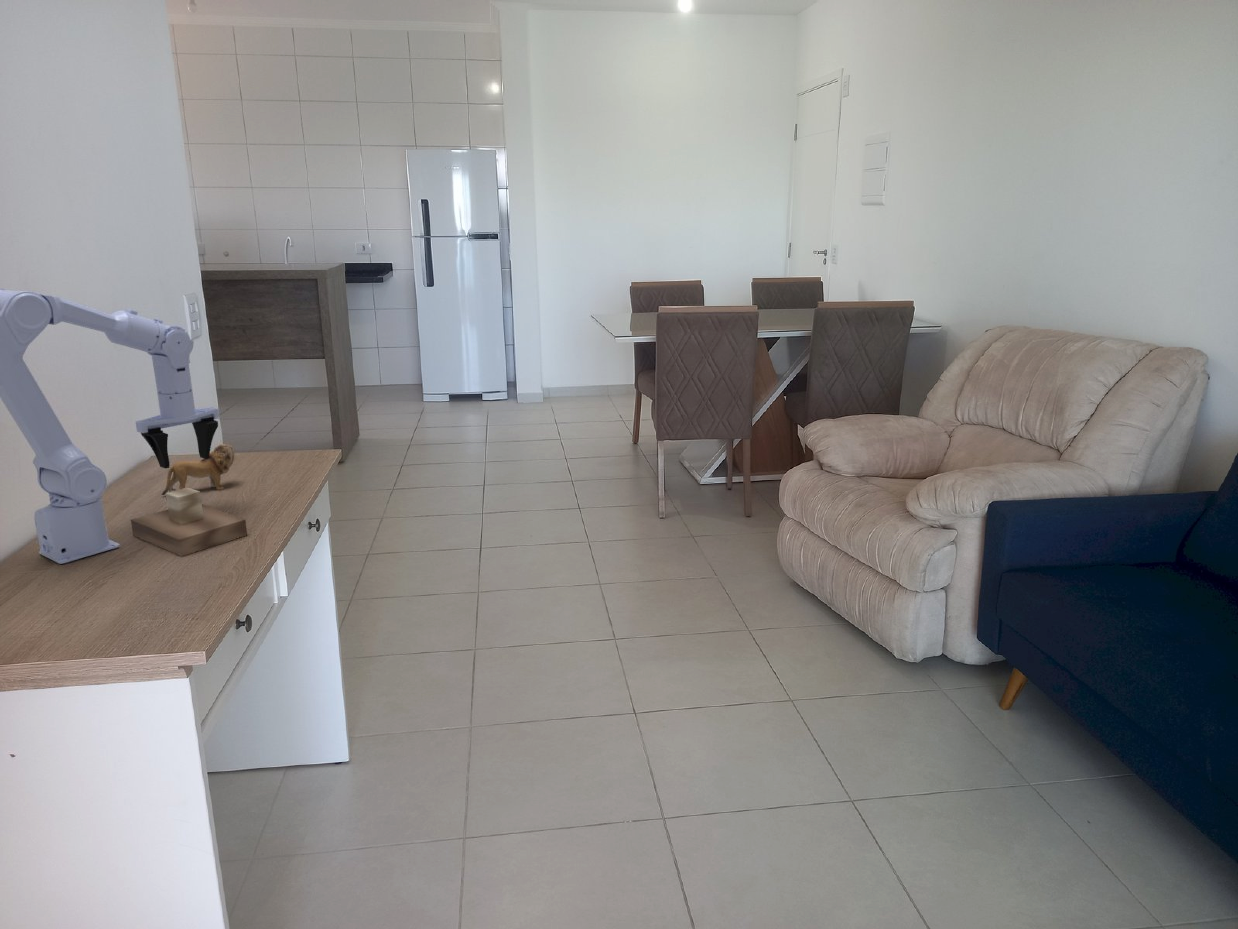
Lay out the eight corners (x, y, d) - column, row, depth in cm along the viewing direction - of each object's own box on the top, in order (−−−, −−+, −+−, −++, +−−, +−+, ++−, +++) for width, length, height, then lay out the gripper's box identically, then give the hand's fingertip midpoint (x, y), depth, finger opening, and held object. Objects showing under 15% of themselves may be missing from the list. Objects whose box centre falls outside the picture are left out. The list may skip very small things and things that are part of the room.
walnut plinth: (181, 556, 140) (179, 539, 139) (133, 535, 148) (130, 519, 148) (247, 535, 149) (245, 519, 148) (198, 516, 158) (196, 501, 157)
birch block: (181, 524, 146) (177, 497, 144) (169, 519, 148) (165, 493, 146) (203, 518, 149) (199, 491, 147) (191, 513, 151) (187, 487, 149)
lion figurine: (233, 480, 180) (228, 440, 177) (241, 486, 176) (236, 445, 173) (158, 494, 170) (152, 452, 168) (165, 501, 166) (159, 457, 164)
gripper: (201, 382, 160) (210, 450, 164) (122, 394, 148) (134, 467, 152) (221, 387, 156) (230, 456, 160) (143, 400, 145) (154, 474, 149)
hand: (185, 462), depth 156 cm, fingers open, 7 cm apart
